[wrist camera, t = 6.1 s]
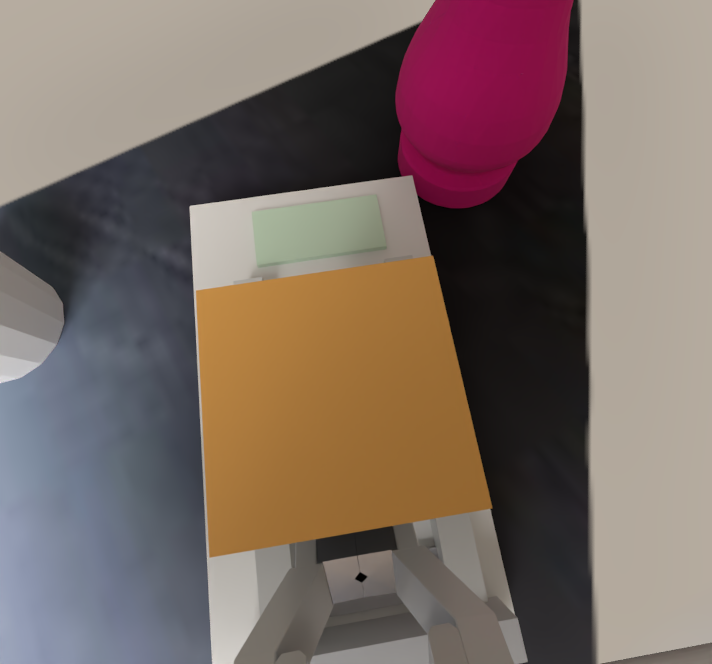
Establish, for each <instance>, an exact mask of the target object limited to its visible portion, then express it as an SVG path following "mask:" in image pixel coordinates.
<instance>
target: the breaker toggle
mask: <svg viewBox="0 0 712 664" xmlns="http://www.w3.org/2000/svg"><path fill="white" fill-rule="evenodd" d="M196 304H197V324H198V344H199V363H200V383H201V403H202V422H203V442H204V462H205V481H206V501H207V521H208V540H209V558H211V557H217V556H222V555H228V554H234V553H240V552H245V551H251V550H257V549H263V548H268V547H274V546H280V545H285V544H291V543H297V542H303V541H308V540H314V539H320V538H326V537H331V536H337V535H343V534H349V533H354V532H360V531H366V530H372V529H377V528H383V527H389V526H394V525H400V524H406V523H412V522H417V521H423V520H429V519H435V518H440V517H446V516H452V515H458V514H463V513H469V512H475V511H481V510H486V509H492V504H491V500H490V495H489V491H488V487H487V483H486V478H485V474H484V470H483V466H482V461H481V457H480V453H479V449H478V444H477V440H476V436H475V432H474V427H473V423H472V419H471V415H470V410H469V406H468V402H467V398H466V393H465V389H464V385H463V381H462V376H461V372H460V368H459V364H458V359H457V355H456V351H455V347H454V342H453V338H452V334H451V330H450V325H449V321H448V317H447V313H446V308H445V304H444V300H443V295H442V291H441V287H440V283H439V278H438V274H437V270H436V266H435V261H434V257H433V256H427V257H420V258H413V259H406V260H399V261H393V262H386V263H379V264H372V265H365V266H359V267H352V268H345V269H338V270H331V271H325V272H318V273H311V274H304V275H298V276H291V277H284V278H277V279H270V280H264V281H257V282H250V283H243V284H236V285H230V286H223V287H216V288H209V289H202V290H196Z"/></svg>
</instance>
